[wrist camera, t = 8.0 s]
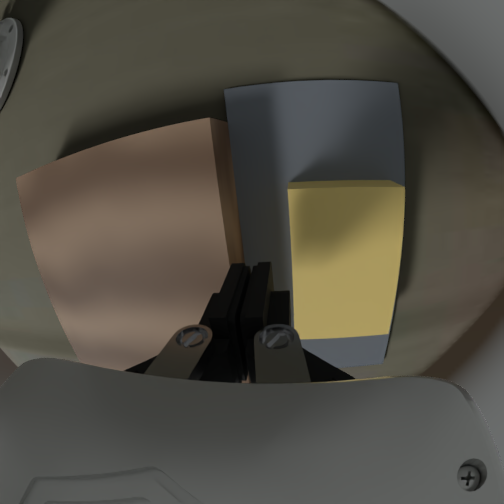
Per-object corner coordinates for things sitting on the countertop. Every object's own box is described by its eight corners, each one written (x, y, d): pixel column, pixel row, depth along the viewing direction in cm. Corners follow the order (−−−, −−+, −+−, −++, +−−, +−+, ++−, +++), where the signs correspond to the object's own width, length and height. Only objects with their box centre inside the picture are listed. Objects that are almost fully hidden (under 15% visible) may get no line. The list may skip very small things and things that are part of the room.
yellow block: (405, 187, 12) (390, 180, 14) (287, 189, 13) (288, 182, 15) (388, 333, 16) (379, 312, 18) (294, 339, 17) (295, 317, 19)
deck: (51, 168, 18) (15, 178, 14) (229, 122, 15) (209, 117, 11) (102, 336, 23) (80, 362, 20) (257, 348, 21) (250, 386, 17)
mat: (225, 90, 14) (223, 89, 14) (395, 84, 13) (397, 83, 12) (259, 366, 22) (259, 369, 21) (381, 360, 20) (382, 363, 19)
